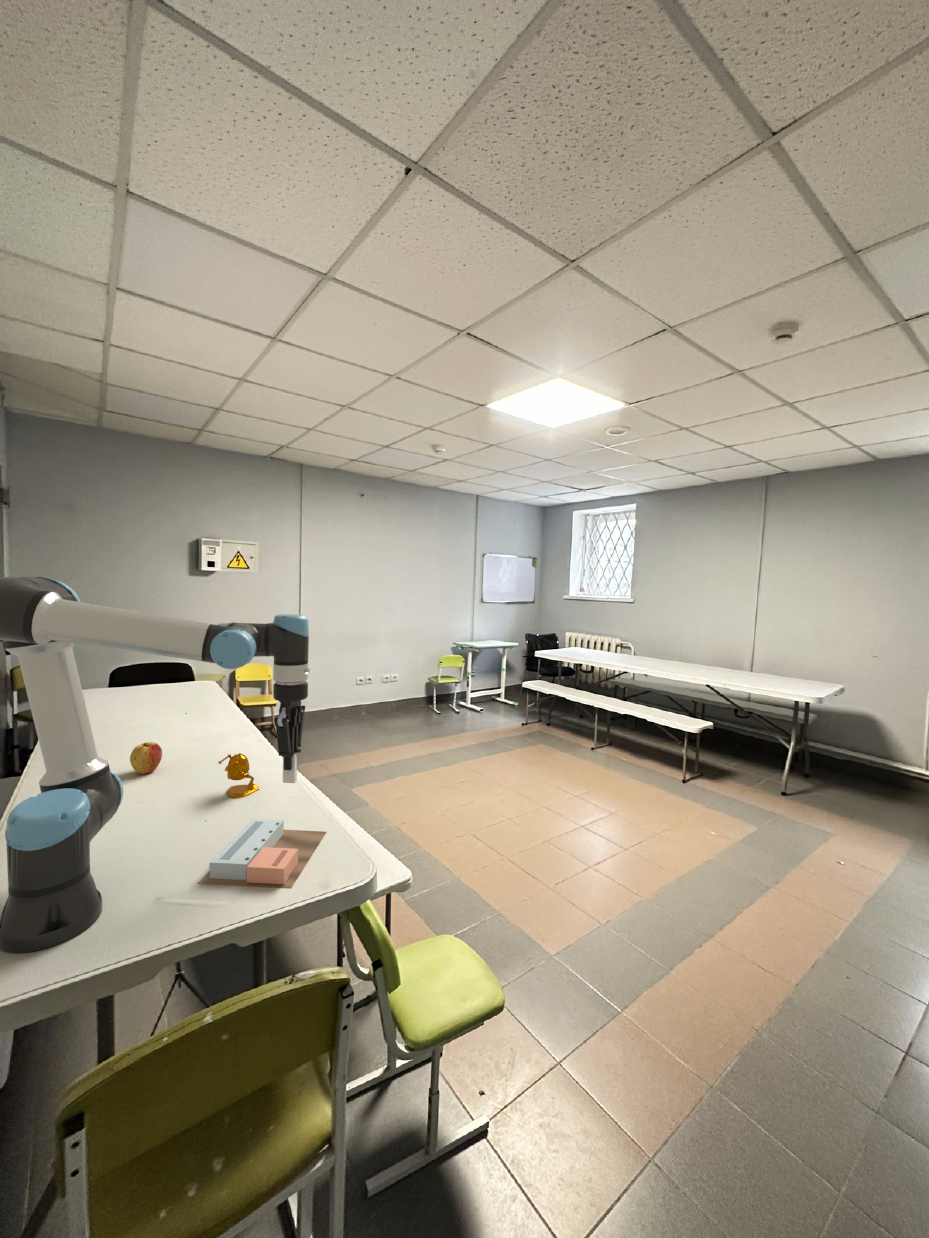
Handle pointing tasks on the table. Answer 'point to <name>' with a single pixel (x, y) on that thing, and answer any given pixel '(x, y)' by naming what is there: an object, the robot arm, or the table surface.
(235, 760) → the figurine
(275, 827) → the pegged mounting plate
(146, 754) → the apple
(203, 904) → the table surface
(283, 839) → the backing board
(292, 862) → the stub
